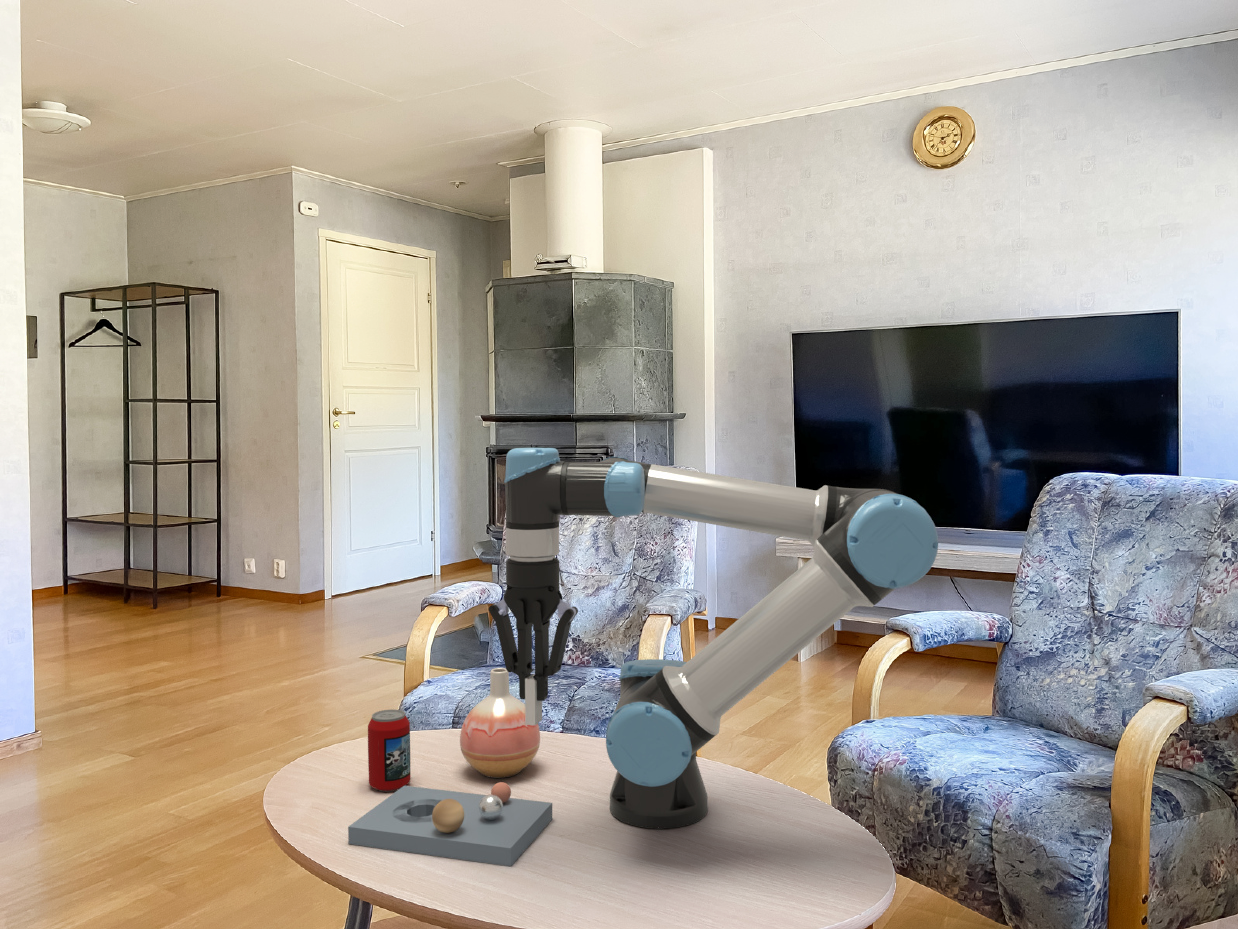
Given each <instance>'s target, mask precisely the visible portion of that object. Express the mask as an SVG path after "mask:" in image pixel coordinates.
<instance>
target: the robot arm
mask: <svg viewBox="0 0 1238 929" xmlns="http://www.w3.org/2000/svg"><path fill="white" fill-rule="evenodd" d="M559 454H560V452H559V450H558V449H557V448H555V447H516V448H512V449H510V450H509V451H508V452H507V453H506V458H505V460H506V461H505V477H504V480H503V481H504V482H503V483H504V494H505V554H506V555H507V556H508V557H509V558H507V560H506V561H505V584H506V590H505V592H504V593H503V598H502V599H500V600H499V601H498V602H495V603H493V604H491V605H489V606H488V612H489V614H490V616H491V617H492V619H493V620H494V623H495V626H496V631H497V636H498V640H499V645H500V648H501V653H502V658H503V661H504V666H505V669H506V670H507V671H508V672H509V673H513V674H515V675H517V677H518V683H519V685H518V686H519V687H518V693H519V694H518V695H519V700H524V704H525V725H536V724H538V725H539V723H540V722H542V721H543V702H544V701H545V700H547V699H548V696H549V677H551V676H552V677H553V676H554V675H555V674H556V673H558V672H560V671H561V668H562V666H563V660H564V656H565V651H566V647H567V643H568V639H569V635H570V631H571V630H570V629H571V626H572V623H573V621H574V619H575V618H576V616H577V615H578V612H579V609H578V608H577V607H576V606H570V605H569V604H568V603H566V602H565V601H564V600H563V599H564V598H563V594H562V593H561V590H560V560H559V559H558V558H557V557H556V556H558V554H559V553H560V521H559V520H560V516H590V517H591V516H592V517H593V516H594V517H596V516H597V517H615V518H621V517H632V516H634V517H635V516H639V515H640V514H642V513H646V514H650V515H656V516H663V517H669V518H674V519H679V520H686V521H691V522H697V523H703V524H708V525H715V526H721V527H726V528H732V529H738V530H743V531H749V532H755V533H761V534H767V535H771V536H777V537H783V538H790V539H796V540H802V541H806V542H807V541H808V542H809V543H810V545H811V546H812V547H813V549H814V550H813V554H812V557H811V558H810V559H809V560H808V561H806V563H804V564H803V565H802V566H800V567H799V568H798V569H797V570H796V571H795V572H794V573H792V574H791V575H790V576H788V577H787V578H786V579H785V580H784V581H782V582H781V583H780V584H779V585H778V586H777V587H775V588H774V589H773V590H772V591H770V592H769V593H768V594H767V595H766V596H765V597H763V598H762V599H760V601H758V602H757V603H756V604H755V605H754V606H753V607H751V608H750V609H749V610H747V612H746V613H744V614H743V615H742V616H741V617H740V618H738V619H736V620H735V622H734V623H732V624H730V625H729V627H728V628H726V629H725V630H723V631H722V633H720V634H719V635H718V636H716V637H715V638H714V639H712V641H711V642H709V643H708V644H707V645H706V646H705V647H703V648H702V649H701V650H700V651H698V652H697V654H695V655H694V656H693V657H692V658H690V659H689V660H688V661H682V660H677V659H676V660H674V659H658V658H656V659H655V658H653V659H636V660H630V661H626V662H624V663H623V664H622V665H621V667H620V674H619V677H618V681H619V682H620V689H619V690H620V693H619V694H620V695H619V700H618V702H617V704H616V707H615V709H614V712H613V714H612V715H611V717H610V718H609V720H608V722H607V725H606V730H605V734H606V735H605V737H606V738H605V747H606V753H607V755H608V758H609V761H610V763H611V764H612V766H613V767H614V769H615V770H616V774H615V777H614V780H613V783H612V787H611V789H610V792H609V811H610V813H611V814H612V816H613V817H614V818H616V819H617V820H619V821H620V822H623V823H625V824H628V825H632V826H635V827H640V828H645V829H674V828H675V829H676V828H680V827H685V826H684V825H686V826H688V825H692V824H694V822H695V823H697V822H699V821H700V820H702V819H703V818H704V817H705V816H706V815H707V813H708V811H709V810H708V808H709V807H708V804H709V802H708V798H709V797H708V792H707V788H706V786H705V783H704V780H703V777H702V774H701V770H700V767H699V765H698V762H697V752H698V751H699V750H700V749H702V748H703V747H704V746H705V745H707V744H708V743H709V742H710V741H711V740H712V739H713V738H715V737H716V736H718V734H720V726H721V718H722V716H723V715H725V714H726V713H727V712H729V710H731V709H732V708H733V707H734V706H736V705H737V704H738V703H739V702H740V701H742V700H743V699H744V698H745V697H747V696H748V695H749V694H750V693H752V691H754V690H756V688H757V687H759V686H760V685H761V684H762V683H764V682H765V681H767V679H768V678H770V677H771V676H773V675H774V673H776V672H777V671H778V670H780V669H781V668H782V667H783V666H784V665H785V664H787V663H788V662H789V661H790V660H792V659H793V658H794V657H795V656H796V655H798V654H799V653H800V652H802V650H804V649H805V648H807V647H808V646H809V645H810V644H811V643H812V642H814V641H815V640H817V638H818V637H819V636H821V635H822V634H823V633H824V632H826V631H827V630H828V629H829V628H831V627H832V626H833V625H834V624H836V623H837V622H839V620H841V618H843V617H844V616H845V615H847V614H848V613H849V612H851V610H853V608H857V607H868V608H874V606H876V605H877V604H878V603H879V602H881V600H883V599H884V598H886V597H887V596H888V595H890V594H891V593H892V592H893V591H894V590H895V589H901V588H906V587H907V586H910V585H912V584H914V583H917V582H918V581H920V579H922V578H923V577H924V576H925V575H926V574H928V572H929V571H930V570H931V568H932V566H934V565H933V564H934V563H935V561H936V558H937V555H938V549H939V536H938V531H937V527H936V525H935V523H934V521H933V520H932V517H931V516H930V515H929V513H928V512H927V510H926V509H925V508H924V507H923V506H921V505H920V504H919V503H918V502H917V501H916V500H914V499H912V498H911V497H908V496H906V495H903V494H899V493H897V492H895V491H892V490H889V489H884V488H882V489H881V488H852V487H850V488H849V487H841V486H840V487H839V486H831V485H826V484H825V485H823V486H822V487H820V488H818V489H817V490H813V489H809V488H804V487H803V488H802V487H797V486H789V485H784V484H783V485H782V484H777V483H770V482H765V481H757V480H754V479H747V478H739V477H733V476H727V475H723V474H716V473H710V472H703V471H697V470H692V469H691V470H689V469H684V468H679V467H672V466H667V465H666V466H665V465H659V464H655V463H653V464H652V463H651V464H650V463H646V462H641V461H635V460H634V461H633V460H629V459H628V458H626V457H620V456H610V457H607V458H606V457H605V458H604V459H603V460H601V461H586V462H585V461H582V462H581V461H580V462H570V461H561V458H560V456H559ZM556 611H558V613H557V617H558V618H559V620H558V622H557V625H556V630H555V634H554V638H553V642H552V646H551V651H550V629H549V628H550V625H551V618H552V617H553V616H554V615H555V613H556ZM509 612H511V613H512V615H513V616H514V618H515V619H516V620H515V629H516V631H517V643H516V639H515V636H514V630H513V626H512V622H511V618H510V615H509ZM533 631H534V668H533ZM532 672H534V674H533V673H532ZM531 673H532V674H531ZM696 821H697V822H696Z"/></svg>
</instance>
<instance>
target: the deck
mask: <svg viewBox="0 0 1238 929" xmlns="http://www.w3.org/2000/svg"><path fill="white" fill-rule="evenodd" d="M486 795H487V794H481V793H480V794H479V793H471V792H463V791H454V790H448V789H447V790H445V789H437V788H428V787H421V786H412V785H405V786H403V787H402V788H400V789H399V790H395V791H394V793H392V794H390V796H388V797H387V798H385V799H384V800H383V801H381V802H380V803H378V804H377V805H376V806H375V807H373V808H372V809H371V810H369V811H368V812H366V813H365V814H364V815H362V816H361V817H359V818H358V819H356V820H355V821H354V822H352V823H351V824H350V825H348V827H347V832H348V833H347V835H348V838H347V839H348V840H347V841H348V845H354V846H361V847H367V848H376V849H382V850H389V851H398V852H405V853H412V854H417V855H419V854H420V855H427V856H433V857H440V858H448V859H454V860H462V861H469V862H476V863H483V864H492V865H499V866H505V867H512V866H513V865H514V863H515V862H516V861H517V860H518V859H519V858H520V856H522V854H523V853H524V852H525V851H526V850H527V849H528V847H529V846H531V844H532V843H533V841H534V840H536V838H537V837H538V836H539V835H540V834H541V833H542V832H543V830H544V829H545V828H546V827H548V825H549V823H550V822H552V820H553V802H549V801H539V800H533V799H522V798H513V797H510V798H509V799H508V800H507V801H506V802H504V803H502V804H503V809H502V812H501V814H500V816H499V817H498V818H496V819H494V820H486V819H484V818H483V817H482V816H481V815H480V813H479V809H478V807H479V803H480V801H481V799H482V798H483V797H485V796H486ZM445 799H453V800H456V801H458V802H459V803H460V804H461V805H462V807H463V809H464V820H463V823H462V825H461V826H460V827H459V828H458V829H457V830H456V831H454V832H451V833H444V832H441V831H439V830H438V829H437V828H436V827H435V826H434V824H433V821H432V812H433V810H434V808H435V806H436V805H437V804H438V803H439V802H440V801H442V800H445Z"/></svg>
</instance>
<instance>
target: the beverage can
mask: <svg viewBox="0 0 1238 929" xmlns="http://www.w3.org/2000/svg"><path fill="white" fill-rule="evenodd" d="M410 726H411V723H410V720H409V719H408V717H407V715H406V712H405V711H404V710H401V709H383V710H379V711H376V712H374V713H373V714H371V718H370V721H369V722H368V725H367V756H368V759H367V762H368V768H367V769H368V785H369V786H370V787H371V788H373V789H375V790H377V791H378V790H379V792H384V791H385V793H387V792H396V791H398V790H399V789H400V788H402V787H403V786H408V784H409V783H410V782H411V778H412V777H411V728H410Z"/></svg>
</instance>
